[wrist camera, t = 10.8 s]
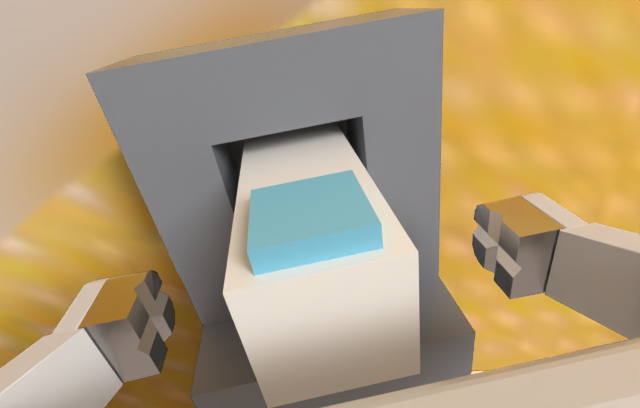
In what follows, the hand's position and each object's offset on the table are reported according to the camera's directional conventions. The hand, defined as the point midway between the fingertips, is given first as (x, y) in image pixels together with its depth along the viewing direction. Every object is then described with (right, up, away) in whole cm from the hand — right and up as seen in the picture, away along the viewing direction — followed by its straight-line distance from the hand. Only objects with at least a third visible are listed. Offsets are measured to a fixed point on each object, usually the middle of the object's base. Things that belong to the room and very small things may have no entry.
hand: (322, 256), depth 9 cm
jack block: (0, -1, +9) cm, 9 cm away
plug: (-1, +3, +6) cm, 7 cm away
